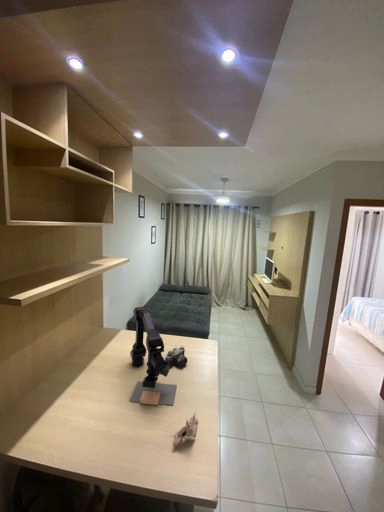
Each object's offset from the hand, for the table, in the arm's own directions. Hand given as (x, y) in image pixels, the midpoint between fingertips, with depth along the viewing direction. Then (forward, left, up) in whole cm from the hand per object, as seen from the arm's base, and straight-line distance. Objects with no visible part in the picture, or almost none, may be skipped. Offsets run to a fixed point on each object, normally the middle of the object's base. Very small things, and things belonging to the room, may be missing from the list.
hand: (152, 387), depth 114 cm
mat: (+1, +1, -4) cm, 4 cm away
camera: (+10, +27, -4) cm, 29 cm away
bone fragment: (+18, -20, -5) cm, 28 cm away
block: (0, -1, -2) cm, 3 cm away
